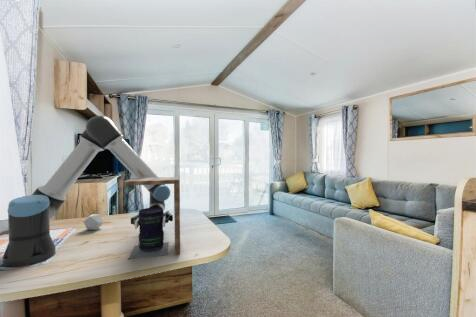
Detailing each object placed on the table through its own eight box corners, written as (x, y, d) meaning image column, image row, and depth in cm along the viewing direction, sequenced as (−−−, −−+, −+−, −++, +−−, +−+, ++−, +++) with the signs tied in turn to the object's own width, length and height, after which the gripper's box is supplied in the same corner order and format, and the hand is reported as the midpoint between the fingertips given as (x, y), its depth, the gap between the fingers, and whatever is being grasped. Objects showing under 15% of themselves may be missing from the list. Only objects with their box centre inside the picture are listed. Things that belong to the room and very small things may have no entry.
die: (86, 228, 125) (78, 217, 119) (102, 218, 130) (94, 207, 124) (92, 237, 121) (84, 226, 115) (108, 226, 126) (101, 215, 120)
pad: (128, 259, 86) (128, 258, 86) (134, 246, 98) (134, 245, 98) (167, 255, 89) (166, 254, 89) (168, 242, 102) (168, 242, 102)
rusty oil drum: (134, 250, 90) (134, 213, 90) (143, 241, 100) (143, 207, 100) (160, 249, 91) (160, 212, 91) (166, 240, 101) (166, 207, 101)
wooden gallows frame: (125, 260, 85) (124, 181, 85) (132, 246, 99) (131, 178, 98) (180, 254, 90) (179, 179, 90) (180, 241, 104) (179, 176, 103)
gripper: (178, 217, 116) (179, 231, 94) (130, 221, 110) (119, 236, 89) (178, 202, 116) (178, 213, 94) (130, 205, 110) (119, 217, 89)
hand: (150, 224), depth 91 cm, fingers closed on rusty oil drum, 10 cm apart
